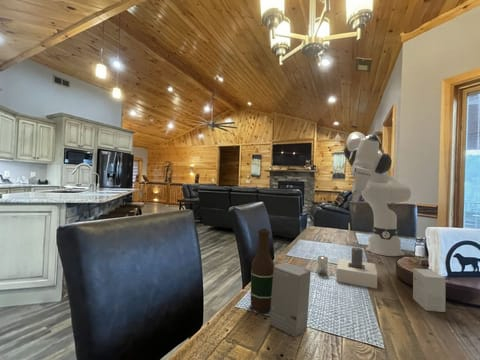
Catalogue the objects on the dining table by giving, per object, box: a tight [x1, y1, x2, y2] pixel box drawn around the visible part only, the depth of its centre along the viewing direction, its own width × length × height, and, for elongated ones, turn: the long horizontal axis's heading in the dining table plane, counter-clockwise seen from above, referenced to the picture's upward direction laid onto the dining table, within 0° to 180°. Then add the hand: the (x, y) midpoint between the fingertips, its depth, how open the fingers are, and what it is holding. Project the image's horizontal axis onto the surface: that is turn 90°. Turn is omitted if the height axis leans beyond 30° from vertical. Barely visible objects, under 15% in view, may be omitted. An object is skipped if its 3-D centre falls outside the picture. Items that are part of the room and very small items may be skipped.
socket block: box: [336, 258, 378, 289], centre depth 101 cm, size 14×14×5 cm
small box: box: [412, 268, 446, 313], centre depth 79 cm, size 8×6×10 cm
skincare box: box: [269, 262, 312, 338], centre depth 67 cm, size 8×7×16 cm
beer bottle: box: [250, 228, 275, 314], centre depth 76 cm, size 8×8×24 cm
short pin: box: [317, 255, 329, 276], centre depth 105 cm, size 4×4×7 cm
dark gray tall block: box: [351, 247, 364, 269], centre depth 101 cm, size 4×4×12 cm
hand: (354, 201), depth 112 cm, fingers open, 8 cm apart
